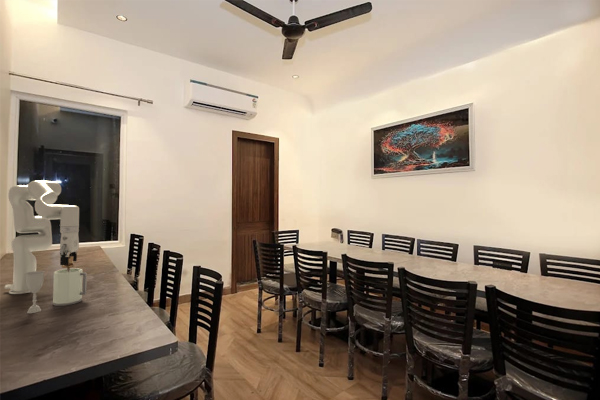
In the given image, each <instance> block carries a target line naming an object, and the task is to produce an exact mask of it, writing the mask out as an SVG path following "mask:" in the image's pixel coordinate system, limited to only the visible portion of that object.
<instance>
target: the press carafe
mask: <svg viewBox="0 0 600 400" xmlns="http://www.w3.org/2000/svg"><path fill="white" fill-rule="evenodd" d="M87 277H88V273H87V272H83V268H78V267H77V268H76V267H72V268H70V273H67V268H62V269H59V270H56V271H53V287H52V288H53V289H52V290H53V291H52V306H54V307H55V306H56V307H65V306H71V305H75V304H79V303H80V302H82V301H83V296H84V295H86V294H87V279H88V278H87Z"/></svg>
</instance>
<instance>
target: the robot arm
mask: <svg viewBox="0 0 600 400" xmlns="http://www.w3.org/2000/svg"><path fill="white" fill-rule="evenodd" d="M61 193H62V186H61V184H60V183H58V181H55V180H52V181H51V180H42V179H41V180H32V181H30V182H29V183H28V184H26V185H25V184H23V185H22V184H19V185H13V186H11V187H10V189H8V201H9V202H10V203H9V204H10V205H11V208H12V214H13V226H14V227H13V228H14V231H15V232H17V233H19V234H25V235H18V236H16V237H14V238H13V239H12V242H11V248H12V252H13V271H12V272H13V274H12V275H13V276H12V284H5V285H4V290H5V289H6V290H8V289H10V290H9V291H8V294H10V295H22V294H28V293H31V292H30V290H29V289H28V287H27V284H26V280H27V276H26V274H25V273H28V272H33V271H37V257H36V255H34V254H33V253H32V252H39V251H40V252H41V251H47V250H49V249H50V248H51V247H52V245H53V235H52V223H51V220H53V221H54V220H59V222H60V223H59V224H60V226H59V227H60V228H59V232H60V244H59V257H60V262H59V263H60V266H62V265H68V259H69V257H68V256H73V262H77V260H78V257H77V256H78V255H77V254H78V251H79V249H80V241H79V240H80V238H79V231H80V229H79V228H80V207H79V206H77V205H69V204H54V203H56V201H58V196H59V195H60V194H61ZM28 201H35V203H34V207H33V206H32V205H31V204H30V203H29V202H28ZM34 211H35V212H36V214H37V215H34V214H35V213H34ZM29 233H36V234H29ZM37 233H38V234H37Z"/></svg>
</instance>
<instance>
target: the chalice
mask: <svg viewBox="0 0 600 400" xmlns="http://www.w3.org/2000/svg"><path fill="white" fill-rule="evenodd" d="M45 272H46V271H45V270H36V271H33V272H28V273H25V274H26V276H27V280H26V284H27V287H28V289H29V290H30V293H32V295H33V296H32V300H31V301H32V303H33V304H32V305H31V306H29V308H28V309H27V312H26V313H27V314H36V313H39V312H41V311H42V308H40V306H39V305H37V301H38V300H37V298H38V296H37V293H38V292H39V291H40V290H41V288H42V286H43V284H44V275H45Z"/></svg>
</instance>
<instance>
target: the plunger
mask: <svg viewBox="0 0 600 400" xmlns="http://www.w3.org/2000/svg"><path fill="white" fill-rule="evenodd" d="M68 257H69V259H68V265H61V268H62V269H67V273H70V269H72V268H76V263H74V261H73V256H69V255H68Z"/></svg>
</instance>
